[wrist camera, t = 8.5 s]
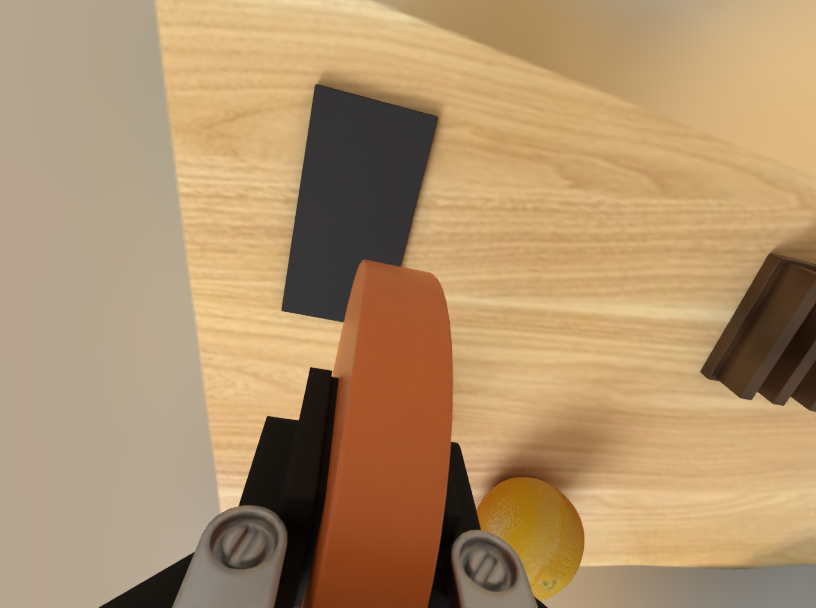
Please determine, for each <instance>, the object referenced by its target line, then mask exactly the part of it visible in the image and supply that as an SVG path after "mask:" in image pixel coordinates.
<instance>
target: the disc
mask: <svg viewBox="0 0 816 608" xmlns="http://www.w3.org/2000/svg"><path fill="white" fill-rule="evenodd" d="M333 377H337V378H339V380H338V389H337V398H336V407H335V417H334V426H333V435H332V444H331V453H330V462H329V472H328V481H327V490H326V497H325V503H324V508H323V513H322V518H321V522H320V526H319V531H318V535H317V540H316V544H315V548H314V553H313V557H312V562H311V566H310V570H309V575H308V579H307V584H306V588H305V592H304V597H303V601H302V605H301V608H428V603H429V599H430V594H431V590H432V585H433V580H434V574H435V568H436V563H437V557H438V551H439V545H440V539H441V532H442V524H443V517H444V509H445V501H446V493H447V482H448V472H449V461H450V448H451V431H452V409H453V363H452V343H451V331H450V321H449V315H448V309H447V303H446V299H445V296H444V292H443V289H442V287H441V285H440V282H439V280H438V279H437V278H436V277H435V276H434V275H433V274H432V273H429V272H424V271H419V270H414V269H409V268H404V267H399V266H394V265H390V264H385V263H380V262H375V261H370V260H362V262H361V263H360V265H359V267H358V270H357V273H356V276H355V279H354V283H353V286H352V290H351V294H350V298H349V302H348V306H347V311H346V315H345V319H344V324H343V328H342V333H341V338H340V342H339V347H338V352H337V357H336V362H335V367H334V372H333Z"/></svg>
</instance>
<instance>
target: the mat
mask: <svg viewBox="0 0 816 608" xmlns="http://www.w3.org/2000/svg"><path fill="white" fill-rule="evenodd" d="M437 120H438V117H437V116H434V115H430V114H426V113H423V112H419V111H415V110H411V109H407V108H404V107H400V106H396V105H392V104H389V103H385V102H381V101H377V100H374V99H370V98H366V97H362V96H359V95H355V94H351V93H347V92H344V91H340V90H336V89H332V88H329V87H325V86H321V85H317V84H316V85H315V89H314V96H313V103H312V110H311V116H310V123H309V130H308V136H307V143H306V150H305V156H304V163H303V170H302V176H301V183H300V190H299V196H298V203H297V210H296V216H295V223H294V230H293V236H292V243H291V250H290V257H289V263H288V270H287V277H286V283H285V290H284V297H283V303H282V311H285V312H290V313H296V314H301V315H307V316H312V317H318V318H323V319H329V320H334V321H340V322H344V319H345V315H346V311H347V306H348V302H349V298H350V294H351V290H352V286H353V283H354V279H355V276H356V273H357V270H358V267H359V265H360V263H361V262H362V260H370V261H375V262H380V263H385V264H390V265H394V266H399V267H400V266H401V262H402V258H403V254H404V250H405V246H406V242H407V238H408V234H409V230H410V227H411V223H412V219H413V215H414V211H415V207H416V203H417V199H418V195H419V191H420V187H421V183H422V179H423V175H424V171H425V167H426V163H427V159H428V155H429V151H430V147H431V144H432V140H433V136H434V132H435V128H436V124H437Z"/></svg>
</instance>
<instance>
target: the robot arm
mask: <svg viewBox="0 0 816 608" xmlns="http://www.w3.org/2000/svg"><path fill="white" fill-rule="evenodd" d="M331 376H332V371H330V370H324V369H318V368H312V367H310V371H309V376H308V380H307V385H306V390H305V394H304V399H303V404H302V408H301V413H300V418H299V420H292V419H285V418H278V417H271V416H267V418H266V421H265V424H264V427H263V430H262V434H261V437H260V440H259V443H258V446H257V449H256V453H255V456H254V459H253V462H252V465H251V469H250V472H249V475H248V478H247V481H246V484H245V488H244V491H243V494H242V497H241V500H240V503H239V507H234V508H230V509H228V510H226V511H224V512H223V513H221V514H219V515H217V516H216V517H215V518H214V519H213V520H212V521H211V522H210V523H209V524H208V525H207V527H206V529H205V530H204V532H203V534H202V536H201V539H200V541H199V543H198V546H197V548H196V551H195V552H194V553H192V554H190V555H188V556H187V557H185V558H183V559H182V560H180V561H178V562H176V563H175V564H173V565H171V566H170V567H168V568H166V569H164V570H163V571H161V572H159V573H157V574H156V575H154V576H152V577H151V578H149V579H147V580H146V581H144V582H142V583H140V584H139V585H137V586H135V587H134V588H132V589H130V590H128V591H127V592H125V593H123V594H121V595H120V596H118V597H116V598H114V599H113V600H111V601H109V602H108V603H106V604H104V605H102V606H101V607H99V608H301V605H302V601H303V597H304V592H305V588H306V584H307V579H308V575H309V570H310V566H311V562H312V557H313V553H314V548H315V544H316V540H317V535H318V531H319V526H320V522H321V518H322V513H323V508H324V503H325V497H326V490H327V481H328V472H329V462H330V453H331V444H332V435H333V426H334V417H335V407H336V398H337V389H338V380H339V378H337V377H331ZM428 608H547V607H546V606H545V605H544V604H543V603H541V602H540V601H539V600H538V599H537V598H536V597H535V596H534V595H533V592H532V589H531V586H530V583H529V580H528V577H527V574H526V571H525V569H524V566H523V564H522V562H521V560H520V558H519V556H518V554H517V553H516V552H515V550H514V549H513V548H512V547H511V546H510V545H509V544H508V543H507V542H506V541H504V540H503V539H502V538H500V537H498V536H496V535H494V534H492V533H490V532H486V531H482V530H481V527H480V523H479V519H478V515H477V511H476V507H475V503H474V499H473V495H472V491H471V487H470V483H469V479H468V475H467V471H466V468H465V464H464V460H463V456H462V452H461V448H460V446H459V444H458V443H455V442H451V448H450V461H449V472H448V482H447V493H446V501H445V509H444V517H443V524H442V532H441V539H440V545H439V551H438V557H437V563H436V568H435V574H434V580H433V585H432V590H431V594H430V599H429V603H428Z"/></svg>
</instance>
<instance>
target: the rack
mask: <svg viewBox="0 0 816 608" xmlns="http://www.w3.org/2000/svg"><path fill="white" fill-rule="evenodd" d="M701 373H702V374H703V375H704V376H705V377H706V378H708V379H710V380H715V381H720V382H721V383H723V384H724V385H725V386H726V387H727V388H729V389H730V390H731V391H732V392H733V393H735V394H736V395H737V396H738V397H739V398H742V399H748V400H752V399H753V397H754V396H755V394H756V393H757V392H758V393H760V394H761V395H762V396H764V397H765V398H766V399H767V400H769V401H770V402H771V403H773V404H777V405H782V406H784V405H785V404H786V402H787V401H788V399H789V398H790V397H792V398H793V399H794V400H796V401H797V402H798V403H800V404H801V405H803V406H804V407H805V408H807V409H808V410H810V411H815V412H816V264H812V263H808V262H804V261H800V260H796V259H792V258H788V257H784V256H779V255H775V254H771V253H770V254H769V256H768V257H767V259H766V261H765V263H764V264H763V266H762V268H761V269H760V271H759V273H758V274H757V276H756V278H755V280H754V281H753V283H752V285H751V286H750V288H749V290H748V292H747V293H746V295H745V297H744V298H743V300H742V302H741V303H740V305H739V307H738V309H737V310H736V312H735V314H734V315H733V317H732V319H731V321H730V322H729V324H728V326H727V327H726V329H725V331H724V332H723V334H722V336H721V338H720V339H719V341H718V343H717V344H716V346H715V348H714V350H713V351H712V353H711V355H710V356H709V358H708V360H707V361H706V363H705V365H704V367H703V368H702V370H701Z"/></svg>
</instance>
